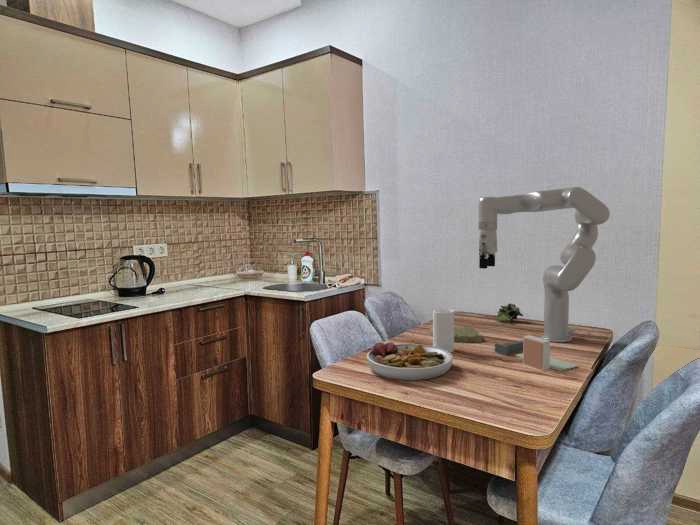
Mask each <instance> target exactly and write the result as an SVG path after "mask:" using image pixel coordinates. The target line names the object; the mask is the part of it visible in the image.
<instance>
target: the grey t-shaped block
mask: <svg viewBox="0 0 700 525" xmlns="http://www.w3.org/2000/svg"><path fill="white" fill-rule="evenodd" d="M519 352H523V339H522V340H517V341H512V342H506V343H498V342H496V343H494V353H496V354H500V355H502V356H505V357H508V356H510V354H515V353H519Z"/></svg>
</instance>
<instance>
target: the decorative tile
mask: <svg viewBox="0 0 700 525" xmlns="http://www.w3.org/2000/svg"><path fill="white" fill-rule="evenodd" d="M429 332H430V333H429V334H430V335H432V336H431V337H432V338H433V326H431V327H429ZM482 342H483V340H482V335H481V334H480V333H479V331H478V330H477V329H475V328H474V327H473V326H454V343H482Z"/></svg>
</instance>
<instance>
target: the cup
mask: <svg viewBox="0 0 700 525" xmlns="http://www.w3.org/2000/svg"><path fill="white" fill-rule="evenodd" d="M454 317H455V311H454V310H453V309H448V308H437V309H433V311H432V327H433V337H432V346H434V347H438V348H441V349H444V350H446V351H448V352H450V353H453V352H454V351H455V342H454V327H455V318H454Z"/></svg>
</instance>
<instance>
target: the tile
mask: <svg viewBox="0 0 700 525" xmlns="http://www.w3.org/2000/svg"><path fill="white" fill-rule="evenodd" d="M522 337H523V339H522V340H523V351H522V353H523V359H522V364H523V363H524V365H527V366H529V367H533V368H535V369H537V370H541V371H547V369H548V370H550V369H551V368H550V357H551V341H549V340H545V339H542V338H540V337H537V336H535V335H534V336H533V335H530V334H528V335H523V336H522Z"/></svg>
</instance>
